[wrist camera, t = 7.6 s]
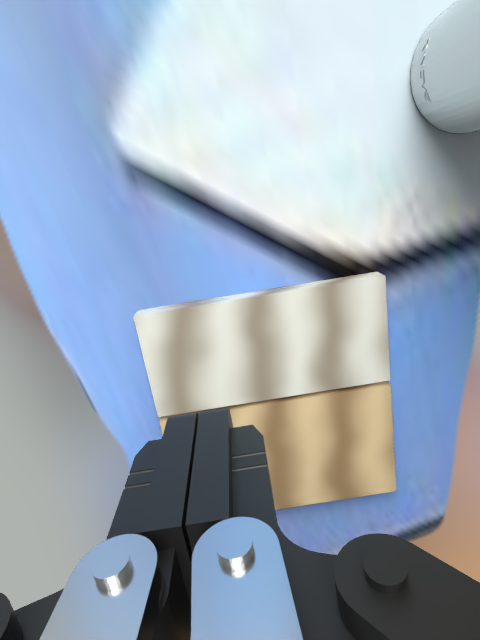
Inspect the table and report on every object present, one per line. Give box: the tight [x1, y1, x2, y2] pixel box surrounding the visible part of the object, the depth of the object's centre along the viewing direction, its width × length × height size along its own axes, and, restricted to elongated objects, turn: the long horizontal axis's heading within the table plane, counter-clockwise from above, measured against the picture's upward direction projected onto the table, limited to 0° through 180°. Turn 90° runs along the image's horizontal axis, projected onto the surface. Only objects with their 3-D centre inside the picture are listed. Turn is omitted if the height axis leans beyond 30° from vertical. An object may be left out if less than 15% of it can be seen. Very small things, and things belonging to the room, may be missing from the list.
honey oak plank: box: [160, 381, 396, 510], centre depth 40 cm, size 22×12×2 cm, turn 99°
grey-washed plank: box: [133, 272, 390, 417], centre depth 37 cm, size 22×10×2 cm, turn 99°
